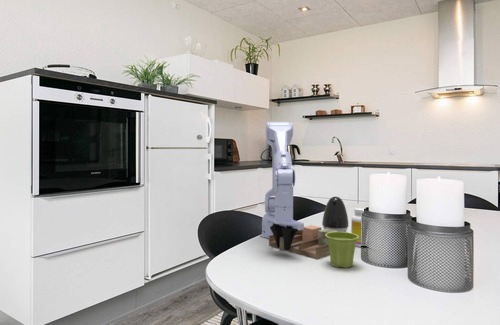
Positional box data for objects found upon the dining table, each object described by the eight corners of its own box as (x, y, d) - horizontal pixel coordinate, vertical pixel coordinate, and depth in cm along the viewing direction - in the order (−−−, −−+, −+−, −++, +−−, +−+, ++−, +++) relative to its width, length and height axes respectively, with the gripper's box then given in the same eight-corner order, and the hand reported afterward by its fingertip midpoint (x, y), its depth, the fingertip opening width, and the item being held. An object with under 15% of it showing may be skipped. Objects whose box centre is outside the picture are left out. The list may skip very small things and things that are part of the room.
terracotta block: (275, 249, 112) (275, 233, 112) (310, 239, 125) (311, 225, 125) (286, 252, 109) (286, 235, 109) (321, 241, 122) (321, 227, 122)
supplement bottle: (371, 248, 120) (372, 211, 119) (351, 247, 121) (352, 210, 121) (369, 243, 126) (369, 208, 126) (350, 242, 127) (350, 207, 127)
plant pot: (340, 272, 96) (340, 240, 95) (318, 262, 104) (318, 233, 104) (365, 267, 100) (365, 237, 100) (342, 258, 108) (342, 230, 108)
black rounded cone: (319, 236, 136) (320, 197, 136) (324, 230, 146) (325, 194, 145) (346, 238, 132) (347, 199, 132) (349, 232, 142) (350, 195, 142)
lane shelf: (268, 245, 122) (269, 227, 121) (297, 238, 133) (297, 221, 132) (317, 259, 107) (317, 238, 107) (345, 249, 118) (345, 230, 118)
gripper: (259, 204, 114) (258, 246, 114) (293, 210, 103) (293, 256, 103) (273, 202, 118) (273, 242, 119) (308, 208, 108) (307, 251, 108)
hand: (283, 248), depth 111 cm, fingers closed on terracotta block, 3 cm apart
